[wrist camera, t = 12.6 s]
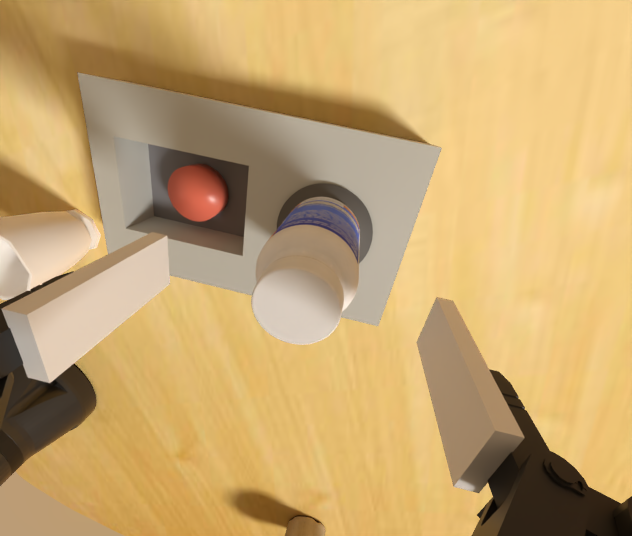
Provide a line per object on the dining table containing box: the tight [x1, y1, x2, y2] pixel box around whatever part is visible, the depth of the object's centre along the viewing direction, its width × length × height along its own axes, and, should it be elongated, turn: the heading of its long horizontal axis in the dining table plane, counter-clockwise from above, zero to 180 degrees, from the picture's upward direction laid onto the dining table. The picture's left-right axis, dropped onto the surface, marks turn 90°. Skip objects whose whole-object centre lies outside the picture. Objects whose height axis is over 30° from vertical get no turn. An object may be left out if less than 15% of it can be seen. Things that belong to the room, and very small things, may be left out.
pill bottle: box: [251, 197, 360, 345], centre depth 17 cm, size 5×5×10 cm
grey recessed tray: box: [78, 73, 442, 326], centre depth 23 cm, size 24×14×4 cm, turn 80°
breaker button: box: [168, 164, 229, 222], centre depth 24 cm, size 4×4×2 cm
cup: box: [0, 209, 101, 300], centre depth 26 cm, size 7×10×8 cm
